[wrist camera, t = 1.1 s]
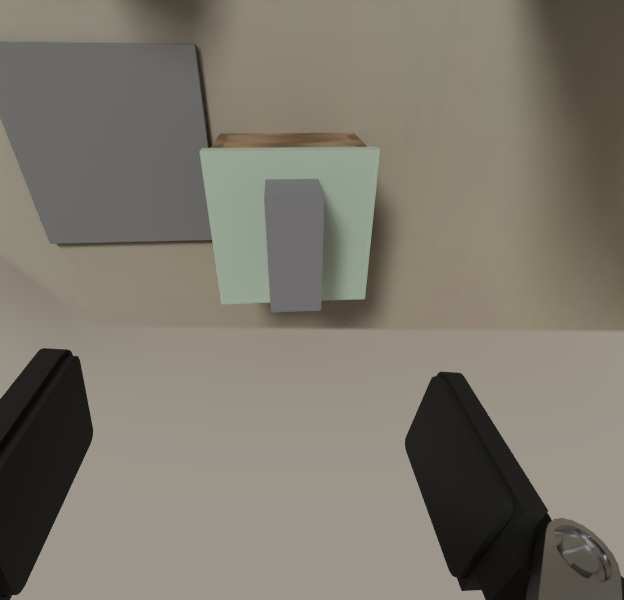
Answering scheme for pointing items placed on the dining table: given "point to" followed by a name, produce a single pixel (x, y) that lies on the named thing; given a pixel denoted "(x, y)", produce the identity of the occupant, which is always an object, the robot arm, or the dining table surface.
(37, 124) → the mat
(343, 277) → the lid
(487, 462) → the robot arm
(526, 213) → the dining table surface
